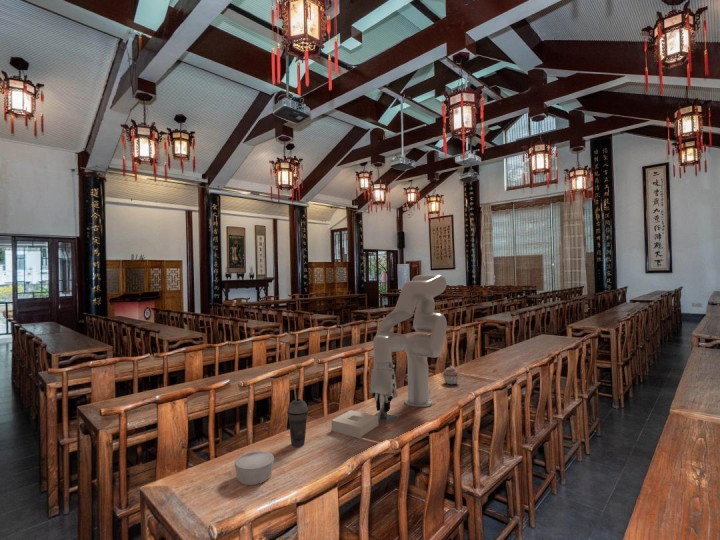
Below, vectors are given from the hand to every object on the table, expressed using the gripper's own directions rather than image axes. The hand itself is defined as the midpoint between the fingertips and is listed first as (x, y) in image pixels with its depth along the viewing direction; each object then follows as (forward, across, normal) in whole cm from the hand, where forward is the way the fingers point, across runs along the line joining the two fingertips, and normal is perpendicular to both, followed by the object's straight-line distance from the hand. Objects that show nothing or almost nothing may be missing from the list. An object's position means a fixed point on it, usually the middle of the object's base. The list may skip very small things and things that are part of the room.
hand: (383, 410), depth 154 cm
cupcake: (+4, -6, -65) cm, 65 cm away
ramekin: (+4, +10, +59) cm, 60 cm away
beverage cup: (+4, +14, +36) cm, 39 cm away
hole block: (+4, +4, +14) cm, 15 cm away
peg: (+3, 0, 0) cm, 3 cm away
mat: (+4, 0, 0) cm, 4 cm away
